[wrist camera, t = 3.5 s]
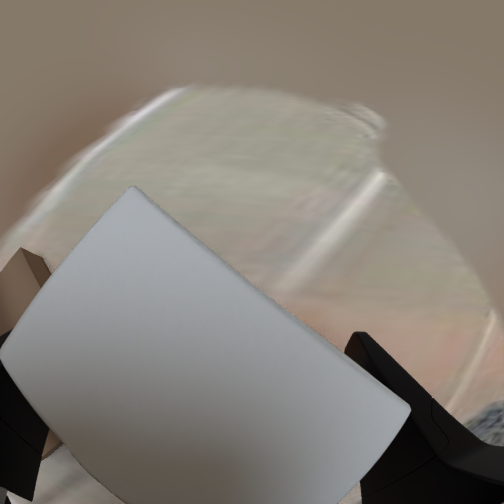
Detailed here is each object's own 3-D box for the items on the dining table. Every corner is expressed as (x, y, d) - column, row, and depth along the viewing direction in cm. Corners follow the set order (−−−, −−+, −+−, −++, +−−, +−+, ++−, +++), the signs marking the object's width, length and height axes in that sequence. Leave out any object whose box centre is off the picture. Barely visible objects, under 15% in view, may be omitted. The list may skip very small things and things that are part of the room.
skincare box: (283, 357, 15) (426, 410, 3) (234, 413, 14) (259, 574, 2) (198, 287, 15) (132, 171, 4) (149, 343, 14) (-12, 359, 3)
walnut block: (50, 455, 12) (29, 468, 9) (-20, 343, 13) (-44, 342, 10) (132, 382, 14) (113, 393, 11) (45, 259, 15) (20, 247, 12)
